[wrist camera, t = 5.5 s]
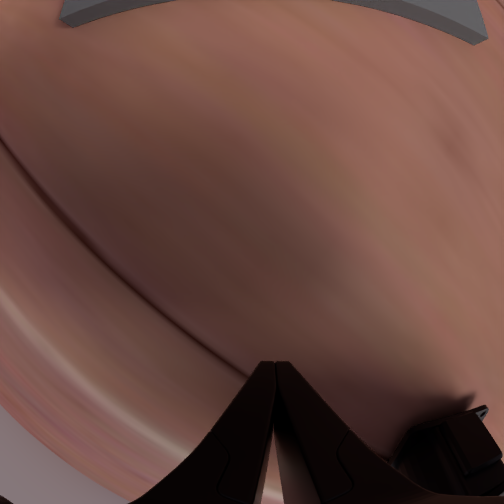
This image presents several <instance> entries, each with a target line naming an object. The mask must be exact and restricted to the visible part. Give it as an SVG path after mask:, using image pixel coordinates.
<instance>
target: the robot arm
mask: <svg viewBox="0 0 504 504" xmlns="http://www.w3.org/2000/svg"><path fill="white" fill-rule="evenodd" d="M488 411H489V409H488V407H487V406H486V405H482V406H479V407H477V408H474V409H471V410H468V411H465V412H462V413H459V414H456V415H453V416H449V417H446V418H442V419H439V420H435V421H431V422H428V423H424V424H420V425H416V426H413V427H412V428H410V429H409V430H408V431H407V432H406V434H405V436H404V437H403V439H402V441H401V443H400V444H399V446H398V448H397V449H396V451H395V452H394V454H393V456H392V457H391V459H390V460H389V462H388V463H387V462H386V461H384V460H383V459H382V458H381V457H379V456H378V455H377V454H376V453H375V452H373V451H372V450H371V449H370V448H369V447H368V446H367V445H366V444H365V443H364V442H363V441H362V440H361V439H360V438H359V437H358V436H357V435H356V434H355V433H354V432H353V431H352V430H350V428H349V427H348V426H347V425H346V424H345V423H344V422H343V420H342V419H341V418H340V417H339V416H338V415H337V414H336V413H335V412H334V411H333V410H332V409H331V407H330V406H329V405H328V404H327V403H326V402H325V401H324V400H323V399H322V398H321V396H320V395H319V394H318V393H317V392H316V391H315V390H314V389H313V388H312V386H311V385H310V384H309V383H308V382H307V381H306V380H305V379H304V377H303V376H302V375H301V374H300V373H299V372H298V371H297V370H296V368H295V367H294V366H293V365H292V364H291V363H290V362H289V361H277V362H275V363H274V362H273V361H261V362H260V363H259V364H258V366H257V367H256V368H255V370H254V371H253V373H252V374H251V376H250V377H249V378H248V380H247V381H246V383H245V384H244V386H243V387H242V388H241V390H240V391H239V392H238V394H237V395H236V397H235V398H234V399H233V401H232V402H231V403H230V405H229V406H228V408H227V409H226V410H225V412H224V413H223V414H222V416H221V417H220V418H219V420H218V421H217V422H216V423H215V425H214V426H213V427H212V429H211V430H210V432H208V434H207V435H206V436H205V437H204V439H203V440H202V441H201V442H200V444H199V445H198V446H197V447H196V448H195V449H194V451H193V452H192V453H191V454H190V455H189V456H188V457H187V458H186V459H185V460H184V461H183V462H181V463H180V464H179V465H178V466H177V467H176V468H175V469H174V470H173V471H171V472H170V473H169V474H168V475H167V476H166V477H164V478H163V479H162V480H161V481H160V482H159V483H157V484H156V485H155V486H154V487H152V488H151V489H150V490H149V491H148V492H146V493H145V494H144V495H142V496H141V497H139V498H138V499H136V500H134V501H132V502H130V503H128V504H261V499H262V494H263V488H264V483H265V477H266V472H267V466H268V460H269V454H270V447H271V441H272V434H273V428H274V438H275V445H276V452H277V459H278V465H279V472H280V479H281V485H282V492H283V499H284V504H504V464H503V462H502V460H501V458H502V456H503V454H502V452H501V450H500V448H499V447H498V445H497V444H496V442H495V441H494V439H493V437H492V436H491V434H490V433H489V431H488V430H487V428H486V427H485V425H484V424H483V422H482V421H483V419H484V417H485V416H486V414H487V413H488ZM0 504H13V503H12V502H10V501H9V500H7V499H6V498H4V497H3V496H1V495H0Z"/></svg>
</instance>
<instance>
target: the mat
mask: <svg viewBox="0 0 504 504" xmlns="http://www.w3.org/2000/svg"><path fill="white" fill-rule="evenodd" d="M168 1H174V0H65V2H64V5H63V8H62V11H61V14H60V17H59V19H60V20H61V21H63V22H65V23H66V24H68V25H70V26H71V27H73V28H74V27H76V26H79V25H82V24H84V23H87V22H90V21H93V20H96V19H99V18H102V17H105V16H108V15H112V14H115V13H119V12H122V11H126V10H130V9H134V8H138V7H143V6H147V5H152V4H157V3H162V2H168ZM334 1H340V2H345V3H351V4H356V5H360V6H365V7H369V8H373V9H377V10H381V11H385V12H389V13H392V14H396V15H399V16H402V17H405V18H409V19H412V20H415V21H418V22H420V23H423V24H426V25H429V26H431V27H434V28H436V29H439V30H441V31H444V32H446V33H449V34H451V35H453V36H455V37H458V38H460V39H462V40H464V41H466V42H468V43H470V44H472V45H476V44H478V43H480V42H482V41H484V40H487V39H488V35H487V31H486V28H485V24H484V21H483V18H482V15H481V12H480V9H479V6H478V3H477V0H334Z"/></svg>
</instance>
